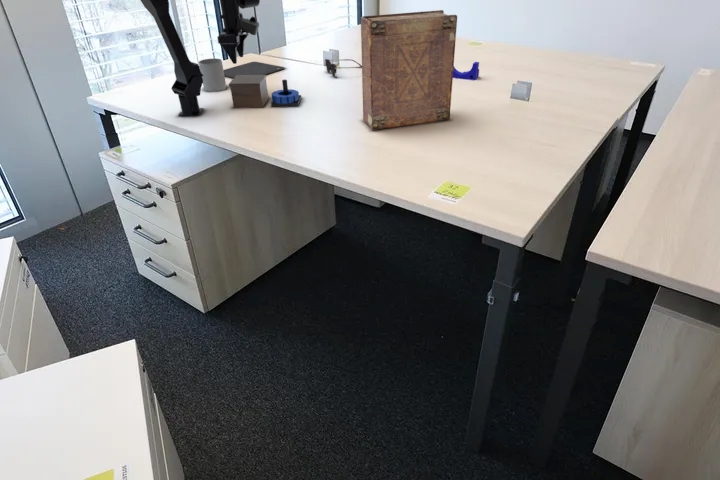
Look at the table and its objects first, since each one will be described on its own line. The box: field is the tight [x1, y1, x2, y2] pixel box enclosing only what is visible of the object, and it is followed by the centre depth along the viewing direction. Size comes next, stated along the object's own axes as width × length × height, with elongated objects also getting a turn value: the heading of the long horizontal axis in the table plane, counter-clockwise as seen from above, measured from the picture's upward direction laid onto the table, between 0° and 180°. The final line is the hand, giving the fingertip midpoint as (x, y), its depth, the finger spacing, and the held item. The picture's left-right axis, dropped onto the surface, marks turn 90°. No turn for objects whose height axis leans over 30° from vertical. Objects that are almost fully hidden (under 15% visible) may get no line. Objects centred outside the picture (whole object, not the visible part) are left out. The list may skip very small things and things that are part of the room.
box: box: [228, 75, 269, 109], centre depth 165 cm, size 10×10×8 cm
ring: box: [270, 88, 300, 104], centre depth 165 cm, size 9×9×2 cm
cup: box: [198, 58, 227, 93], centre depth 180 cm, size 8×8×10 cm
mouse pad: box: [223, 61, 286, 79], centre depth 202 cm, size 23×20×1 cm
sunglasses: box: [324, 58, 362, 78], centre depth 196 cm, size 14×16×5 cm
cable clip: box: [453, 61, 480, 81], centre depth 186 cm, size 12×4×6 cm, turn 62°
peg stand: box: [271, 79, 302, 108], centre depth 165 cm, size 9×9×8 cm
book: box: [360, 9, 458, 131], centre depth 141 cm, size 25×9×30 cm, turn 107°
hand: (238, 60), depth 165 cm, fingers open, 9 cm apart
